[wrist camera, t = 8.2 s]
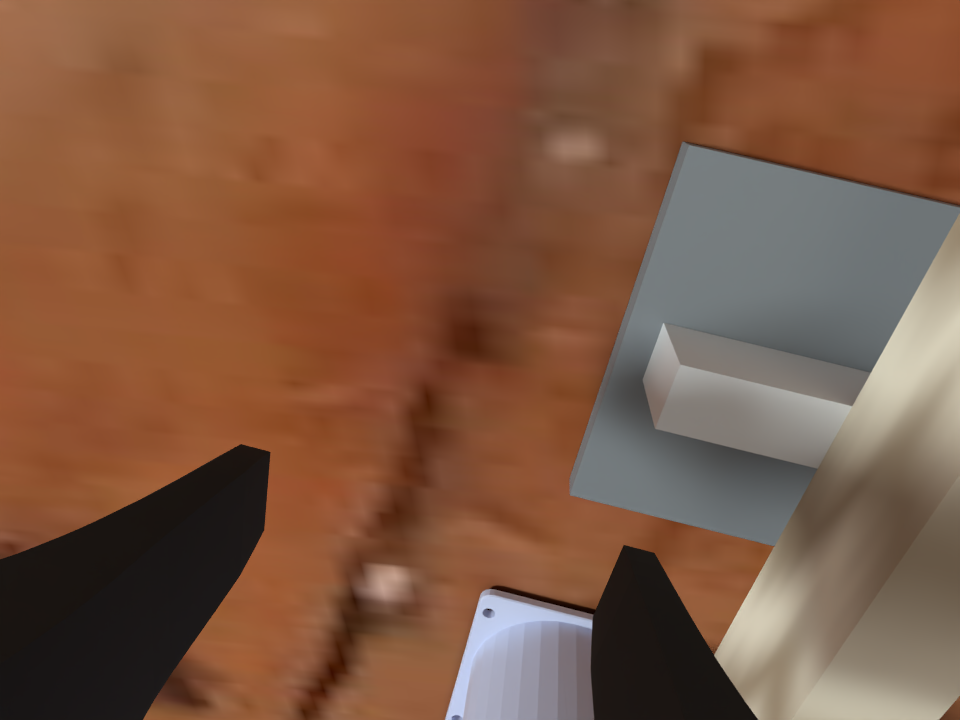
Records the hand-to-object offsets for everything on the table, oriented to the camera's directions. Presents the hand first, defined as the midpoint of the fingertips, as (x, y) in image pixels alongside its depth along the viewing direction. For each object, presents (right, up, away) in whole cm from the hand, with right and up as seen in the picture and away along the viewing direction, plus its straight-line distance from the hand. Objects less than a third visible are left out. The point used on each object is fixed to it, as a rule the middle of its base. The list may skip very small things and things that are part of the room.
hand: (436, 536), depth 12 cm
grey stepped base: (+12, +3, +7) cm, 15 cm away
